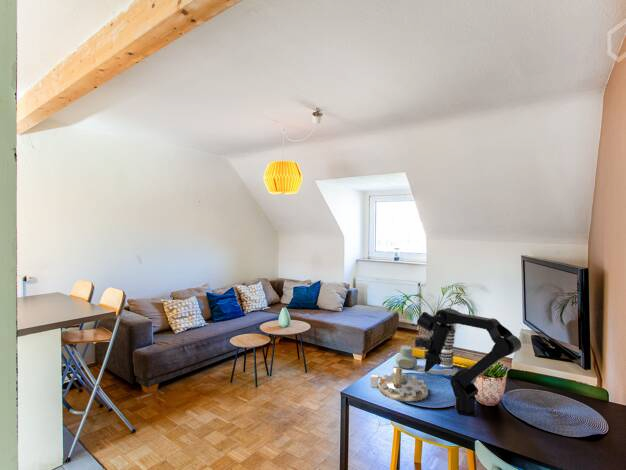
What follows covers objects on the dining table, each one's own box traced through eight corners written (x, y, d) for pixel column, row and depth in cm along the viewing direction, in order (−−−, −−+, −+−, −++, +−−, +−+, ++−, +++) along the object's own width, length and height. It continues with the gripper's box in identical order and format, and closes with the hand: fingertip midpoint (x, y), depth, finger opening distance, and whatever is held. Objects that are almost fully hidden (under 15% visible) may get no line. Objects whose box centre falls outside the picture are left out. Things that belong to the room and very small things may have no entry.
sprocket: (435, 390, 148) (436, 368, 148) (400, 400, 139) (401, 376, 139) (404, 373, 165) (404, 353, 165) (371, 381, 156) (372, 360, 156)
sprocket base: (426, 383, 160) (426, 380, 160) (429, 405, 139) (429, 401, 139) (380, 377, 165) (380, 374, 165) (376, 397, 145) (376, 394, 145)
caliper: (459, 381, 163) (460, 368, 163) (459, 382, 162) (459, 368, 162) (416, 370, 174) (417, 358, 174) (416, 371, 174) (416, 359, 173)
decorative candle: (433, 360, 188) (434, 314, 188) (451, 361, 187) (452, 315, 187) (437, 367, 179) (438, 319, 178) (456, 368, 178) (457, 319, 178)
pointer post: (381, 386, 156) (382, 375, 156) (381, 388, 154) (381, 378, 154) (371, 384, 157) (371, 374, 157) (370, 386, 155) (370, 376, 155)
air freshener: (417, 365, 181) (418, 346, 181) (416, 371, 173) (416, 351, 173) (396, 362, 185) (396, 343, 185) (394, 367, 177) (394, 348, 177)
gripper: (420, 324, 155) (408, 356, 156) (419, 333, 137) (405, 369, 138) (445, 335, 151) (432, 368, 152) (447, 346, 134) (432, 382, 135)
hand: (425, 371), depth 145 cm, fingers closed
